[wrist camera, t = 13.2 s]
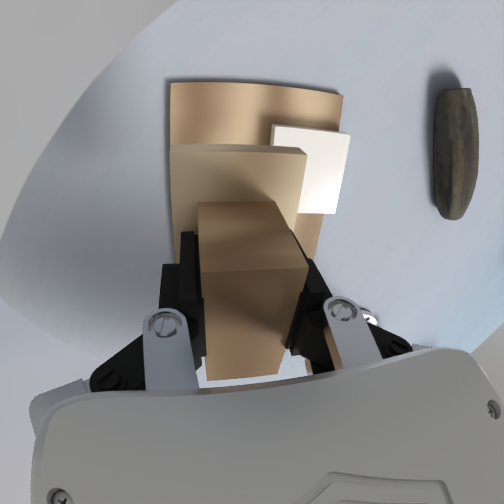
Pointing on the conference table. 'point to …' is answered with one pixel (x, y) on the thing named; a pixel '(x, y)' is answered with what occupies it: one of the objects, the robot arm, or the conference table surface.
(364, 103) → the conference table surface
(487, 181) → the conference table surface
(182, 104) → the cork mat
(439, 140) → the decorative stone
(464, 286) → the conference table surface
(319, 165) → the tile
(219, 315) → the wooden float
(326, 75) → the conference table surface
